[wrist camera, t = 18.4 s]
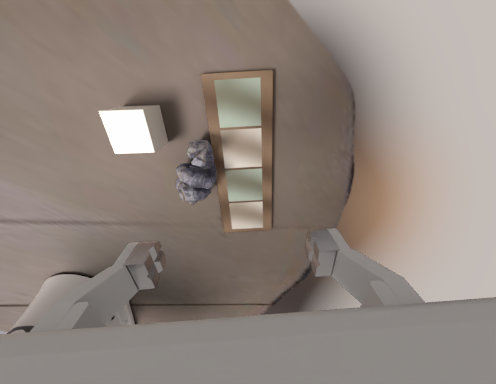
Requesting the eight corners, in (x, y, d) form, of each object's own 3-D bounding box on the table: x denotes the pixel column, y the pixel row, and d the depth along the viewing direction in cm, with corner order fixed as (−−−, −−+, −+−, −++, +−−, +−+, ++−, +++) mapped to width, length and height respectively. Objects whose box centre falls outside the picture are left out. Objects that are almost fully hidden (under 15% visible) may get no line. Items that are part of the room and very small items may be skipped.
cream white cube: (168, 141, 26) (154, 152, 22) (134, 143, 26) (115, 153, 22) (159, 105, 23) (142, 109, 19) (122, 106, 23) (98, 110, 19)
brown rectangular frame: (270, 227, 33) (271, 230, 33) (224, 230, 33) (224, 232, 33) (272, 70, 22) (272, 69, 21) (201, 74, 22) (200, 74, 21)
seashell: (180, 143, 20) (159, 203, 26) (226, 167, 21) (196, 220, 27) (197, 126, 24) (176, 180, 30) (235, 147, 25) (207, 196, 31)
